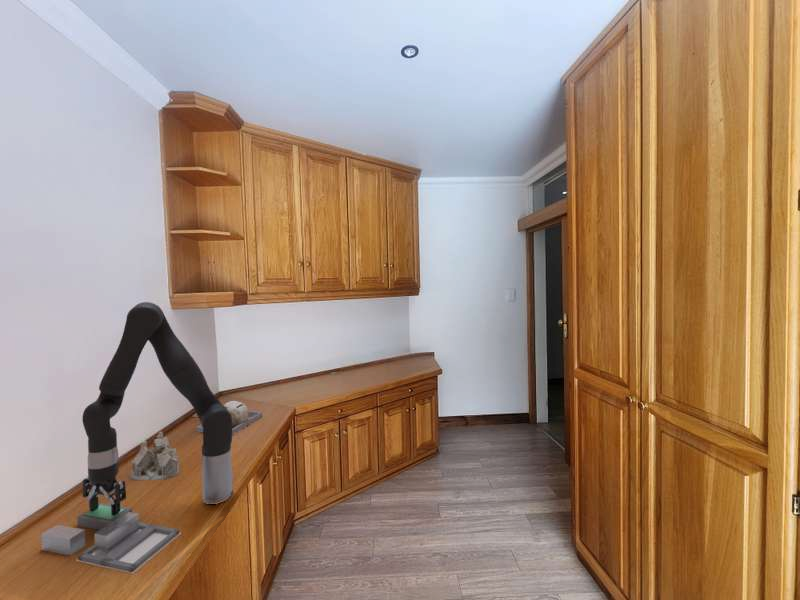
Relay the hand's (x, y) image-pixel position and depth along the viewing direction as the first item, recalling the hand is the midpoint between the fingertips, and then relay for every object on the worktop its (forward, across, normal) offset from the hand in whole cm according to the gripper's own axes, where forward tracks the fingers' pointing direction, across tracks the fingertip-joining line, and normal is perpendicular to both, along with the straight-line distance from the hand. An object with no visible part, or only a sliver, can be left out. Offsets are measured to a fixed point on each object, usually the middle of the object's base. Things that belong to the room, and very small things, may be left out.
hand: (104, 511), depth 118 cm
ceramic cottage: (+5, +12, -30) cm, 33 cm away
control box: (+4, 0, 0) cm, 4 cm away
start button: (+2, 0, 0) cm, 2 cm away
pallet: (+4, -18, +7) cm, 20 cm away
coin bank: (+5, +16, -81) cm, 83 cm away
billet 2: (+3, -13, +7) cm, 15 cm away
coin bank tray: (+4, +16, -81) cm, 83 cm away
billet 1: (+4, 0, +12) cm, 13 cm away
